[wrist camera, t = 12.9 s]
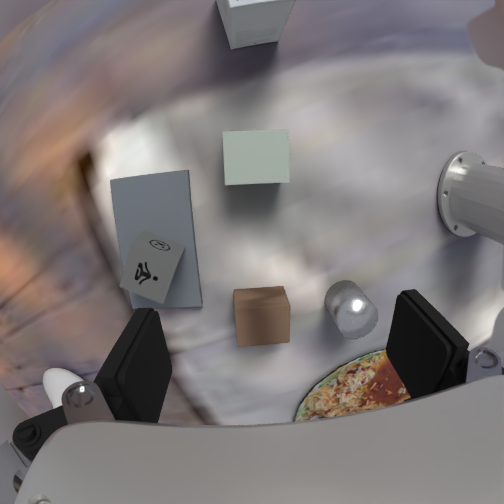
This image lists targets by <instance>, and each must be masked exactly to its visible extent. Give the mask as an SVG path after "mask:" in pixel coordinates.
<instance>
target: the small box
mask: <svg viewBox="0 0 504 504" xmlns="http://www.w3.org/2000/svg"><path fill="white" fill-rule="evenodd" d="M295 1H296V0H216V2H217V6H218V9H219V12H220V15H221V18H222V22H223V25H224V28H225V31H226V34H227V38H228V41H229V45H230V49H236V48H241V47H246V46H251V45H257V44H263V43H269V42H276V41H279V39H280V36H281V34H282V31H283V29H284V27H285V24H286V22H287V20H288V17H289V15H290V13H291V10H292V8H293V6H294V3H295Z"/></svg>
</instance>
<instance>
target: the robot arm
mask: <svg viewBox="0 0 504 504" xmlns="http://www.w3.org/2000/svg"><path fill="white" fill-rule="evenodd" d="M438 206H439V212H440V215H441V218H442V220H443V222H444V224H445V226H446V227H447V228H448V230H450V231H451V232H452V233H454V234H456V235H458V236H461V237H469V236H472V235H474V234H475V233H479V234H481V235H484V236H486V237H488V238H490V239H492V240H494V241H496V242H499V243H501V244H503V245H504V168H501V167H496V166H490V165H487V163H486V162H485V160H484V159H483V158H482V157H481V156H479V155H478V154H476V153H474V152H468V151H464V152H459V153H457V154H455V155H454V156H453V157H451V158H450V160H449V161H448V162H447V164H446V165H445V167H444V169H443V172H442V174H441V177H440V182H439V187H438ZM468 346H469V343H468V342H467V341H466V340H465V339H464V337H463V336H462V335H461V334H460V333H459V332H458V331H457V330H456V329H455V328H454V327H453V326H452V325H451V324H450V323H449V322H448V321H447V320H446V319H445V318H444V317H443V316H442V315H441V314H440V313H439V312H438V311H437V310H436V309H435V308H434V307H433V306H432V305H431V304H430V303H429V302H428V301H427V300H426V299H425V298H424V297H423V296H422V295H421V294H420V293H419V292H418V291H417V290H415V289H412V290H405V291H402V292H401V293H400V295H398V296H397V299H396V304H395V310H394V315H393V320H392V324H391V329H390V334H389V338H388V342H387V346H386V355H387V357H388V359H389V360H390V362H391V364H392V365H393V367H394V369H395V371H396V372H397V374H398V376H399V377H400V379H401V381H402V383H403V384H404V386H405V388H406V390H407V391H408V393H409V395H410V397H411V399H412V400H408V401H405V402H401V403H397V404H393V405H389V406H385V407H380V408H376V409H371V410H367V411H362V412H357V413H351V414H346V415H340V416H334V417H327V418H321V419H313V420H305V421H296V422H286V423H274V424H258V425H231V426H208V425H177V424H161V423H158V420H159V416H160V413H161V409H162V405H163V402H164V398H165V395H166V391H167V388H168V384H169V381H170V378H171V374H172V364H171V360H170V357H169V353H168V349H167V345H166V341H165V338H164V334H163V330H162V326H161V321H160V317H159V313H158V312H157V311H154V309H153V308H137V309H136V311H135V313H134V314H133V316H132V317H131V319H130V321H129V322H128V324H127V326H126V327H125V329H124V331H123V332H122V334H121V335H120V337H119V339H118V340H117V342H116V343H115V345H114V347H113V348H112V350H111V352H110V354H109V355H108V357H107V359H106V360H105V362H104V364H103V366H102V367H101V369H100V371H99V373H98V374H97V376H96V378H95V380H94V382H91V381H79V382H75V383H73V384H71V385H70V386H68V387H67V388H66V389H65V391H64V392H63V394H62V397H61V401H62V405H61V406H59V407H57V408H54V409H52V410H50V411H47V412H45V413H42V414H40V415H38V416H35V417H33V418H30V419H28V420H25V421H24V422H22V423H20V424H19V425H18V426H17V427H16V428H15V430H14V433H13V441H12V442H11V443H10V442H9V441H8V440H7V441H5V442H4V443H3V444H1V445H0V504H504V368H502V362H501V358H500V357H499V355H498V354H497V353H496V352H495V351H493V350H492V349H489V348H486V347H476V348H474V349H472V350H471V351H470V352H469V351H468V350H467V349H468Z"/></svg>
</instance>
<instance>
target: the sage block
mask: <svg viewBox="0 0 504 504" xmlns="http://www.w3.org/2000/svg"><path fill="white" fill-rule="evenodd" d="M223 153H224V172H225V185H238V184H259V183H288V182H290V174H289V140H288V130H250V131H229V132H223Z"/></svg>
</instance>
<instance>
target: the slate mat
mask: <svg viewBox="0 0 504 504" xmlns="http://www.w3.org/2000/svg"><path fill="white" fill-rule="evenodd" d="M110 185H111V194H112V202H113V209H114V216H115V223H116V229H117V236H118V241H119V247H120V253H121V258H122V263H123V268H124V267H125V263H126V259H127V255H128V252H129V248H130V245H131V243H132V242H133V241H134V240H135V239H136V238H137V237H138V236H139V235H140V234H141V233H142V232H143V231H144V230H146V231H148V232H151V233H153V234H156V235H158V236H161V237H163V238H166V239H168V240H171V241H173V242H176V243H178V244H181V245H183V246H185V249H184V251H183V254H182V257H181V260H180V262H179V265H178V268H177V271H176V274H175V276H174V279H173V282H172V285H171V287H170V290H169V292H168V294H167V297H166V299H165V302H164V304H161V303H158V302H156V301H153V300H151V299H148V298H146V297H143V296H141V295H138V294H136V293H133V292H131V291H129V290H128V291H129V295H130V299H131V304H132V308H133V309H137V308H176V307H199V306H202V303H203V302H202V294H201V287H200V279H199V271H198V262H197V254H196V245H195V235H194V225H193V215H192V204H191V192H190V180H189V170H184V171H174V172H165V173H156V174H148V175H140V176H133V177H126V178H119V179H113V180H110Z"/></svg>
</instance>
